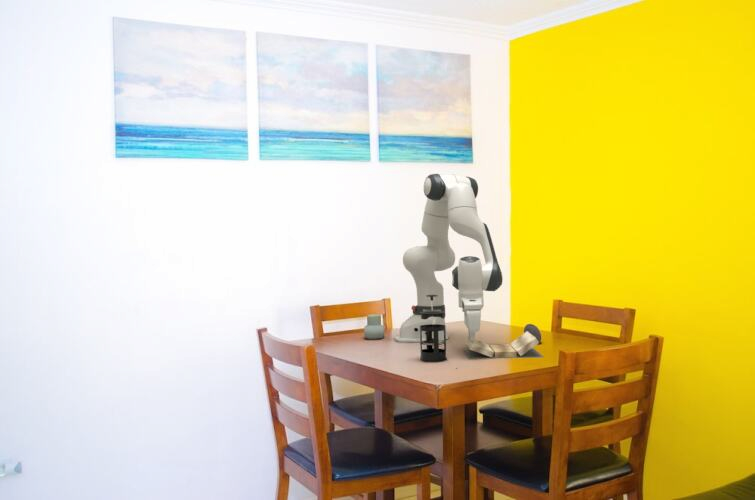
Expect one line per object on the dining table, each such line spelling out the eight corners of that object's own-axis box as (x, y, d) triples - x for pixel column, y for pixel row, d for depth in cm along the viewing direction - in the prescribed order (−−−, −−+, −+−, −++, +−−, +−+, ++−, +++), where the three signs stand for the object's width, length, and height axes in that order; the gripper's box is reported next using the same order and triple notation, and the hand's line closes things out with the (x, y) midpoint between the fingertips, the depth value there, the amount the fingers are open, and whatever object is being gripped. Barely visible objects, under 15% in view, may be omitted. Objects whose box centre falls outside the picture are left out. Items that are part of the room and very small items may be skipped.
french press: (450, 361, 243) (448, 295, 242) (424, 363, 241) (422, 296, 241) (441, 355, 255) (440, 292, 254) (416, 357, 253) (414, 293, 252)
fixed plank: (495, 357, 243) (495, 352, 243) (488, 349, 259) (488, 344, 259) (516, 357, 243) (516, 351, 243) (508, 349, 259) (508, 343, 259)
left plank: (470, 349, 244) (472, 344, 244) (465, 342, 260) (467, 337, 260) (492, 357, 244) (494, 352, 243) (486, 349, 260) (487, 344, 259)
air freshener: (383, 340, 294) (383, 316, 294) (364, 340, 294) (363, 317, 294) (384, 336, 305) (383, 313, 304) (365, 336, 305) (364, 313, 305)
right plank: (530, 335, 259) (527, 331, 259) (539, 342, 243) (535, 337, 243) (512, 348, 259) (509, 343, 259) (520, 356, 243) (517, 351, 243)
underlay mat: (468, 361, 243) (468, 359, 243) (463, 352, 261) (463, 349, 261) (544, 359, 242) (544, 357, 242) (533, 350, 260) (533, 348, 260)
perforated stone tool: (544, 346, 268) (544, 328, 267) (530, 347, 268) (530, 329, 267) (536, 340, 283) (535, 323, 282) (523, 340, 283) (522, 323, 282)
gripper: (459, 299, 261) (460, 336, 262) (464, 305, 241) (465, 345, 241) (476, 298, 261) (477, 335, 262) (483, 304, 241) (484, 344, 241)
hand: (472, 340), depth 251 cm, fingers closed, pressing on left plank
